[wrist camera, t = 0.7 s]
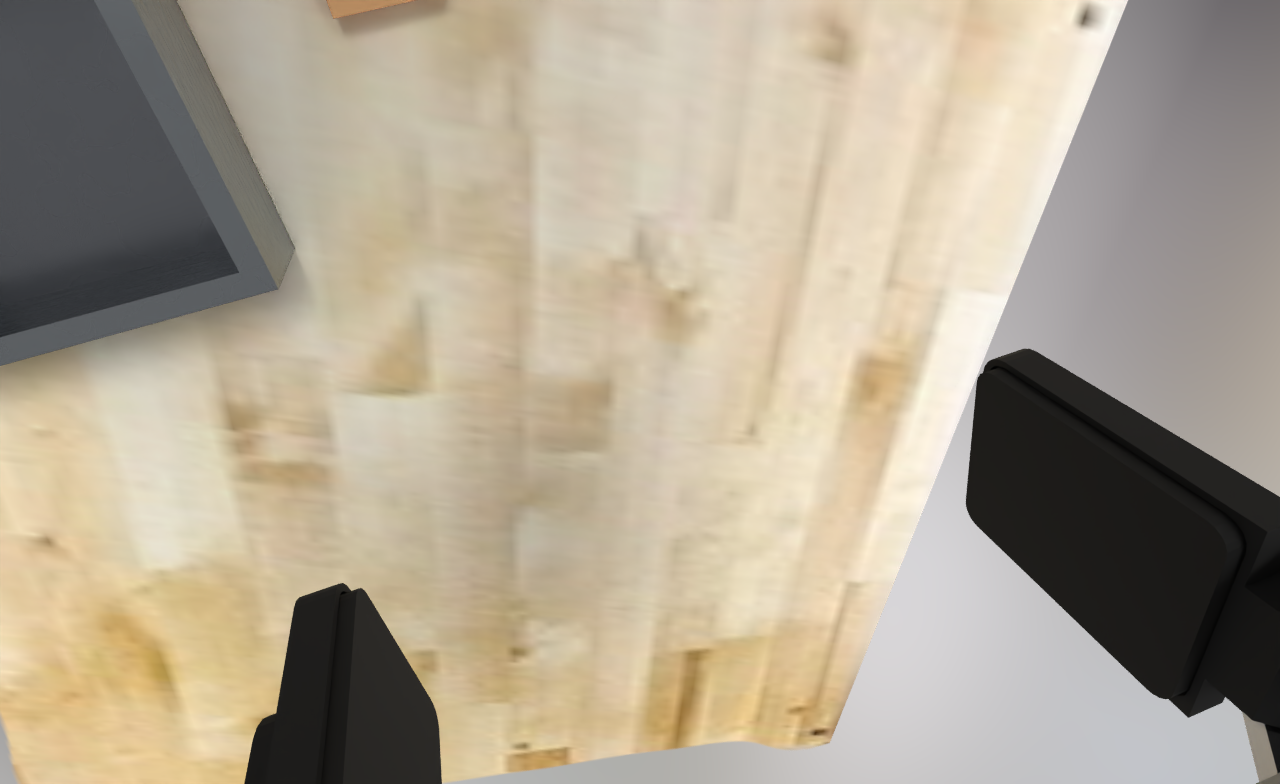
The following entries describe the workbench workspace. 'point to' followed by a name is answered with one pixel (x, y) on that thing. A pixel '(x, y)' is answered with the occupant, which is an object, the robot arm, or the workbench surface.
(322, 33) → the workbench surface
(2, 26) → the well box
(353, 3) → the tan stepped block
